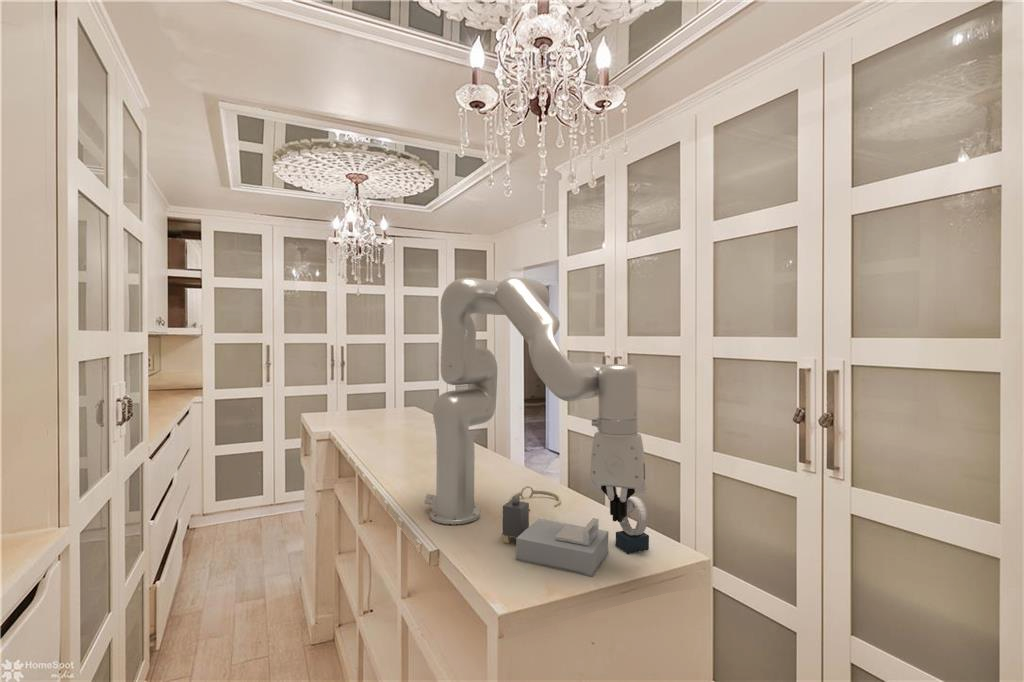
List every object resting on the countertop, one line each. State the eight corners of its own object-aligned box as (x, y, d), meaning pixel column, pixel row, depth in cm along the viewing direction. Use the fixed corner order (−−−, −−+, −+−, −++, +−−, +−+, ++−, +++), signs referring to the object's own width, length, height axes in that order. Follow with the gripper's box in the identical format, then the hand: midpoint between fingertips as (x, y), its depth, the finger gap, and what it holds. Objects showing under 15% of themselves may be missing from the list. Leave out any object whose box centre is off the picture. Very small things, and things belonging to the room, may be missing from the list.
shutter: (555, 539, 102) (555, 524, 102) (566, 527, 108) (566, 513, 108) (588, 545, 99) (588, 530, 99) (598, 533, 105) (598, 518, 105)
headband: (518, 505, 129) (502, 489, 138) (517, 519, 130) (502, 502, 139) (567, 498, 135) (549, 482, 144) (566, 511, 136) (548, 495, 145)
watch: (630, 538, 114) (631, 490, 114) (654, 553, 107) (654, 501, 106) (610, 542, 112) (610, 493, 111) (632, 557, 104) (633, 504, 104)
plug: (502, 542, 111) (502, 498, 111) (510, 535, 115) (511, 492, 115) (520, 546, 109) (521, 501, 109) (528, 539, 113) (529, 495, 113)
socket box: (516, 560, 103) (516, 538, 103) (538, 538, 114) (538, 518, 113) (592, 576, 96) (592, 553, 96) (608, 552, 107) (608, 531, 107)
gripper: (575, 427, 99) (576, 520, 99) (653, 432, 93) (654, 532, 93) (586, 421, 106) (587, 508, 106) (659, 426, 100) (660, 518, 100)
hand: (618, 519), depth 100 cm, fingers closed
